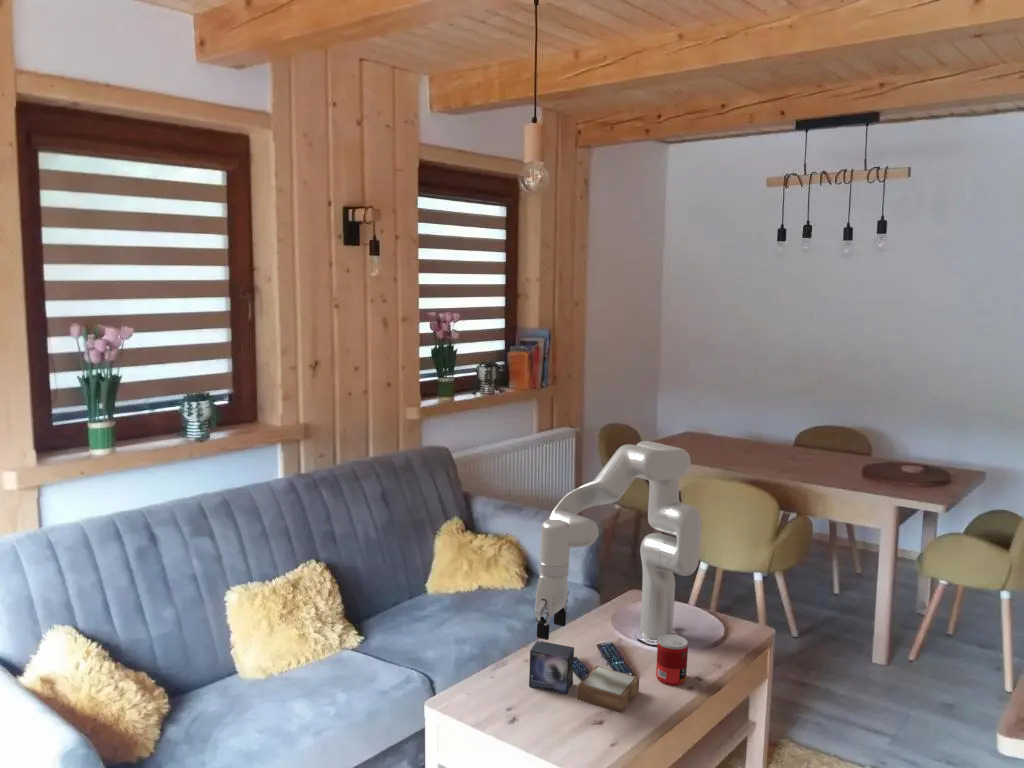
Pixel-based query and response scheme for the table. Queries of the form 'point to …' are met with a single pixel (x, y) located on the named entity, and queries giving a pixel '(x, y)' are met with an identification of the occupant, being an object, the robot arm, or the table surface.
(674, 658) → the canned food
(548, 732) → the table surface
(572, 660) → the small box
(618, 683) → the wooden box
